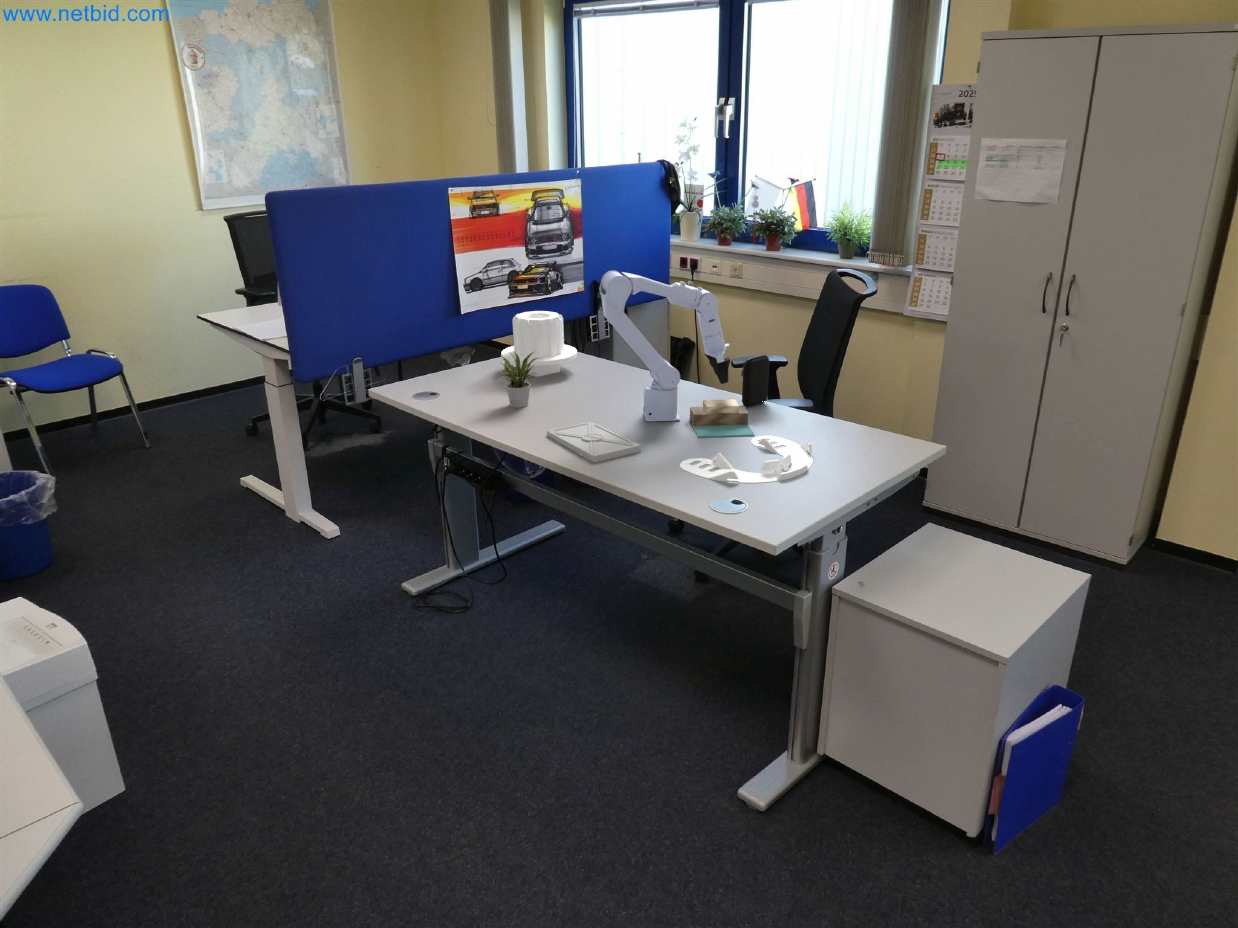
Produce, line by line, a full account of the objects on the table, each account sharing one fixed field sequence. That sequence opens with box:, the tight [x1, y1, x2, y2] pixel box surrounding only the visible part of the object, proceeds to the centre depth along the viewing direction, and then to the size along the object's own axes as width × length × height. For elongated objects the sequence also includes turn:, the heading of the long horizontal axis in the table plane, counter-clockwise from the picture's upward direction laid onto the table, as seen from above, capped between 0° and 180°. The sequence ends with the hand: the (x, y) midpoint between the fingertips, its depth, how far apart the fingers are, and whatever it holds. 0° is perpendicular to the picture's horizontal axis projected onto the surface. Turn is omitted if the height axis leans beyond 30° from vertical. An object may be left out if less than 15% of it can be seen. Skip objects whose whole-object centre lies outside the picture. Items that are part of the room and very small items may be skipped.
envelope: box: [546, 421, 641, 463], centre depth 222 cm, size 24×2×14 cm
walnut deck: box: [689, 404, 749, 428], centre depth 237 cm, size 15×7×4 cm, turn 94°
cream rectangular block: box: [702, 398, 740, 414], centre depth 236 cm, size 9×6×2 cm, turn 94°
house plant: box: [496, 351, 540, 409], centre depth 250 cm, size 14×14×16 cm
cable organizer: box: [679, 435, 814, 484], centre depth 209 cm, size 35×24×3 cm
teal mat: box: [693, 424, 755, 438], centre depth 230 cm, size 15×8×1 cm, turn 94°
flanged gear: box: [500, 310, 578, 378], centre depth 283 cm, size 25×25×19 cm
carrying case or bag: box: [740, 354, 770, 409], centre depth 248 cm, size 11×3×15 cm, turn 128°
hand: (722, 378), depth 241 cm, fingers open, 7 cm apart
